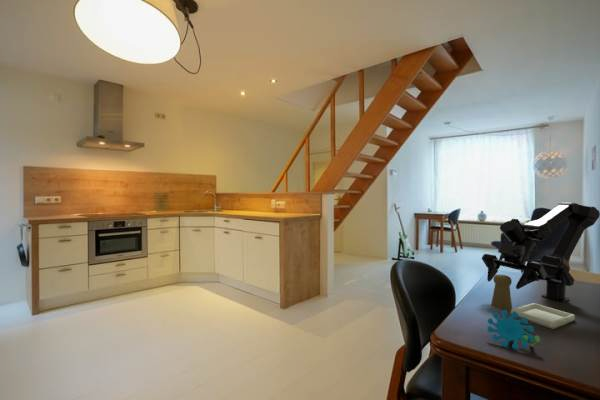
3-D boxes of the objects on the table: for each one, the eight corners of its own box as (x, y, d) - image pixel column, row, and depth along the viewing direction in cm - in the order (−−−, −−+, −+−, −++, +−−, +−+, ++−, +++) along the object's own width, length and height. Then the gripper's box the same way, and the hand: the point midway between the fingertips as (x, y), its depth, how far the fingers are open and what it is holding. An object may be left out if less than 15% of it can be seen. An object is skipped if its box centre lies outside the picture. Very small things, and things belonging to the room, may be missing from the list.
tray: (533, 308, 101) (533, 302, 101) (574, 320, 91) (574, 314, 91) (511, 315, 94) (511, 309, 94) (552, 329, 85) (553, 323, 85)
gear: (480, 334, 77) (494, 302, 81) (483, 343, 80) (495, 313, 84) (533, 358, 69) (545, 321, 73) (533, 367, 72) (544, 332, 76)
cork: (515, 310, 98) (517, 278, 98) (495, 309, 99) (496, 276, 99) (506, 304, 104) (508, 273, 104) (488, 302, 105) (489, 272, 105)
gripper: (485, 232, 112) (466, 263, 107) (544, 239, 95) (524, 276, 90) (496, 251, 116) (478, 282, 111) (554, 261, 99) (536, 298, 94)
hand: (502, 284), depth 101 cm, fingers open, 9 cm apart
